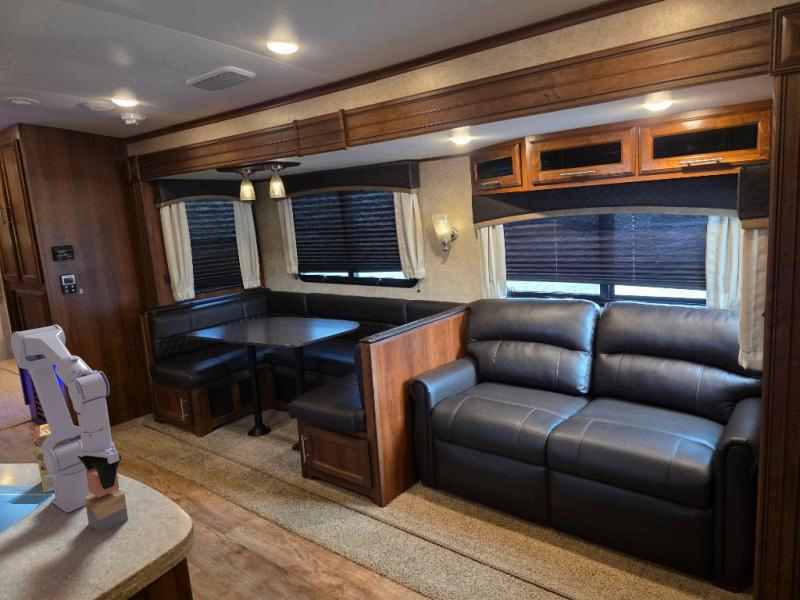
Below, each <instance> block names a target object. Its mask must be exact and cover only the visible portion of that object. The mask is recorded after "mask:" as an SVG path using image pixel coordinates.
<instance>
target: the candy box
mask: <svg viewBox="0 0 800 600" xmlns="http://www.w3.org/2000/svg"><path fill="white" fill-rule="evenodd" d="M50 434H51V431H50V429H49V426H48V423H45V424H41V425H40V424H39V425H36V426H34V429H33V438H32V439H33V444H34V449H35V455H36V460H37V464H38V471H39V475H40V479H41V480H40V481H41V485H42V490H43V493H44V494H45V493H49V492H54V488H53V483H52V473H50V472H49V471H48V470H47V468H46V466H45V464H44V460H43V452H42V449H41V448H42V444H43V442H44V441H45V440H46V439H47V438H48V436H49V435H50ZM54 446H57V444H56V445H54ZM54 446H53V447H54Z"/></svg>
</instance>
